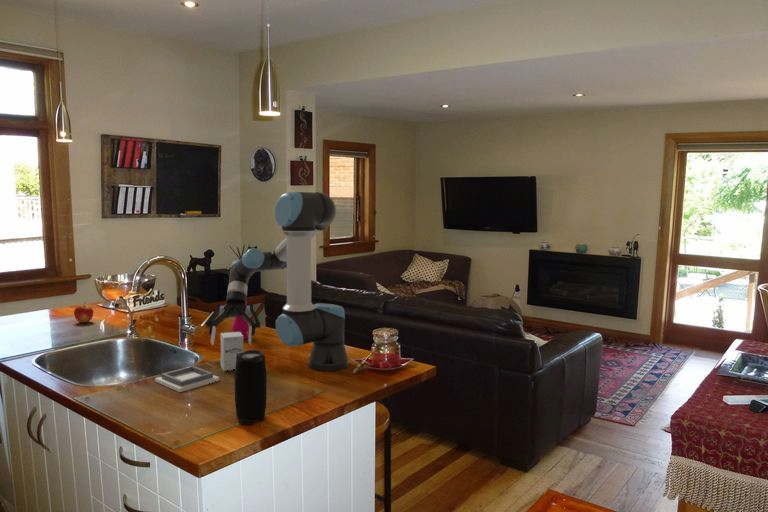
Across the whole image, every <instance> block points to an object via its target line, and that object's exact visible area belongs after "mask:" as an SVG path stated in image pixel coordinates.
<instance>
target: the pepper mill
mask: <svg viewBox="0 0 768 512" xmlns="http://www.w3.org/2000/svg"><path fill="white" fill-rule="evenodd" d="M246 306H248V300H247V299H246ZM234 317H235V316H234ZM249 329H250V325H249V324H248V323H247V322H246V321H245V319H244V318H242V317H241V316H239V317H235V318H234V321H233V322H232V326H231V332H241V333H242V335H243V338H244V339H245V340H247V339H249ZM244 339H243V341H244Z"/></svg>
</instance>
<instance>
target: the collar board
mask: <svg viewBox="0 0 768 512" xmlns="http://www.w3.org/2000/svg"><path fill="white" fill-rule="evenodd" d="M154 380H155V383H157V384H160V385H162V386H165V387H166V388H168V389H169V388H170V389H172V390H173V391H175V392H178V393H182V392H185V391H188V390H192V389H195V388H199V387H202V386H206V385H210V384H212V382H213V383H216V382H219V381H220V376H217V375H214V373H213V372H212V371H208V370H206V369H203V368H200V367H197V366H196V365H191V366H187V367H182V368H180V369H179V368H178V369H176V370H172V371H167V372H163V373H161V376H158V377H155V379H154ZM218 380H219V381H218ZM215 381H216V382H215ZM209 383H210V384H209Z"/></svg>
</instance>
